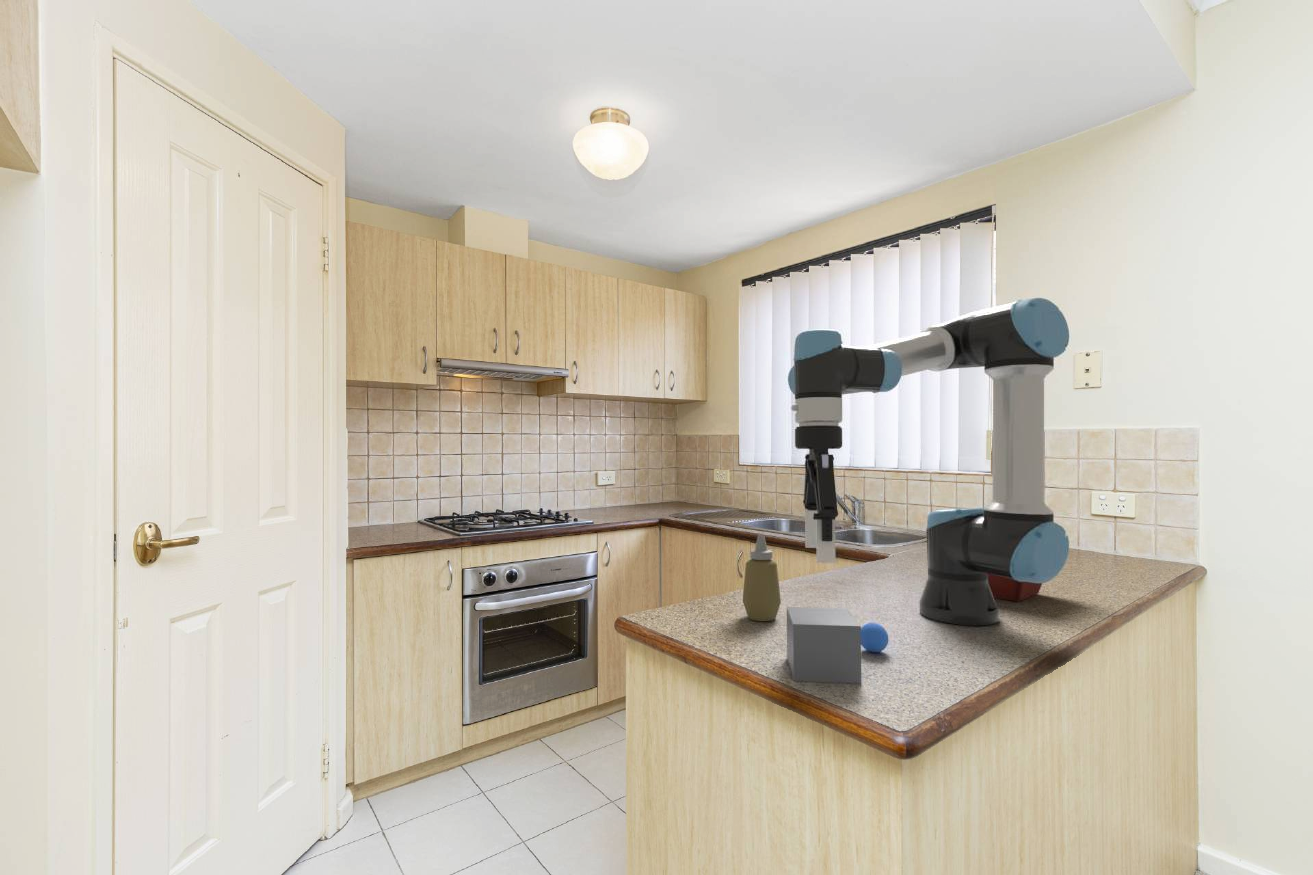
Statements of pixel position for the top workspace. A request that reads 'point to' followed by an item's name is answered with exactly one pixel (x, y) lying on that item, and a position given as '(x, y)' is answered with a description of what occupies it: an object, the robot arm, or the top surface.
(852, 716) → the top surface
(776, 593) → the squeeze bottle
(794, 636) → the grey cubic block
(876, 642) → the ball
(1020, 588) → the plant pot
